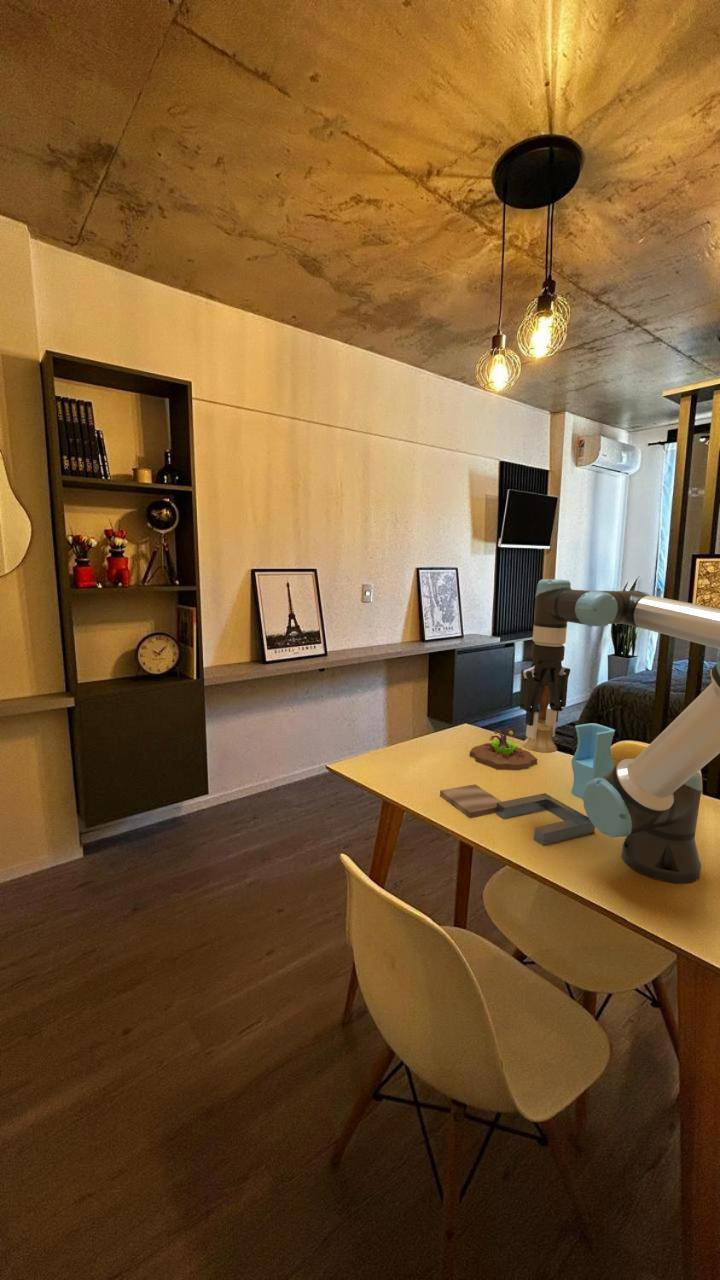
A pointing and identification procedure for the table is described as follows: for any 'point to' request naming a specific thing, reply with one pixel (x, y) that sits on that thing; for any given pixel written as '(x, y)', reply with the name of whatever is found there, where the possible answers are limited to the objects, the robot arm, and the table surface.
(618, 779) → the robot arm
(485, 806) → the walnut board
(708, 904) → the table surface
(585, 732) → the light blue holder
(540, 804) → the silver c-shaped bracket
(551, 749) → the hand bell
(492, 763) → the plant
